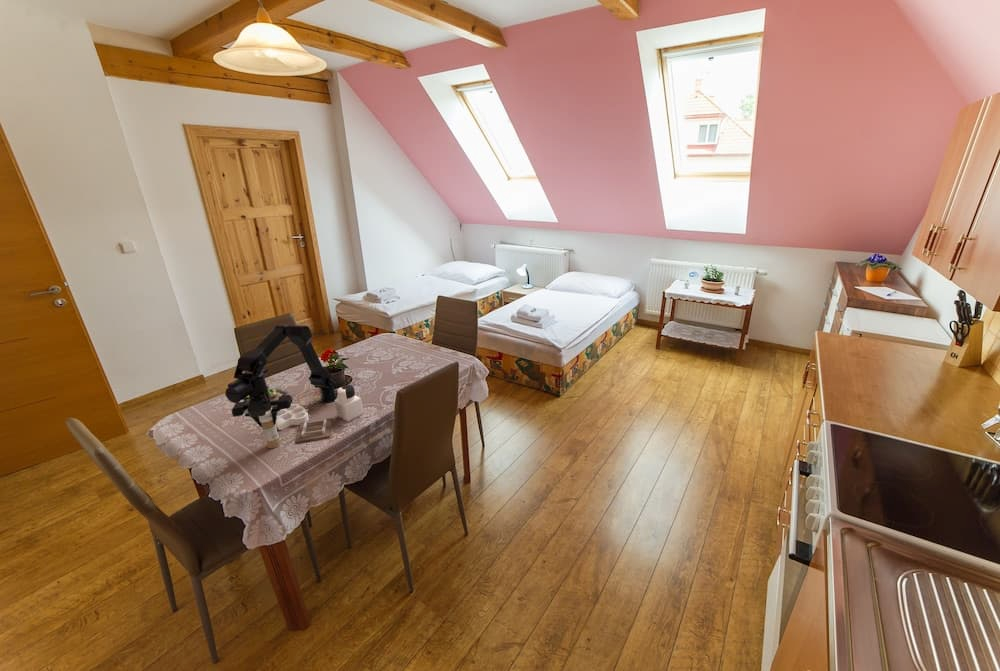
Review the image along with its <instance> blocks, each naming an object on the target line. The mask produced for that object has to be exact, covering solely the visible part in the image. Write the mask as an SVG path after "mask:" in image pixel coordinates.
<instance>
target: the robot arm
mask: <svg viewBox="0 0 1000 671" xmlns="http://www.w3.org/2000/svg"><path fill="white" fill-rule="evenodd" d="M286 338H288V339H289V341H290V342H291V343H292V344H294V345H295V346H296V347H297V348H298V349H299V350H300V352H301V354H302V357H303V359H304V361H305V362H306V365H307V366H308V368H309V370H310V372H311V373H310V375H309V377H308V380H309V381H310V382H309V383H310V385H312V386H314V388H315V389H316V388H318V389H320V394H321V399H320V403H329V402H335V400H336V399H338V392H336V391H335V390H336V388H337V386H338V385H339V380H338V379H336V378H335V377H333V375H332V373H331V372H330V371H329V370H328V369H326V368H325V367H324V366H323V365H322V363H321V360H320V358H319V357H318V354H317V352H316V350H315V348H314V345H313V343H312V338H313V334H312V332H311V328H310V327H309V326H308V325H299V324H290V325H287V324H277V325H275V327H274V329H273V330H272V331H271V332H270V333H269V334H268V335H266V337H265V338H264V339H263V340H262V341H261V342H260V343H259V344H257V346H256V347H255V348H254V349H250V350H248V351H246V352H245V353H244V354H242V355H241V356H239V358H238V360H237V365H236V368H235V371H234V376H233V379H236V380H234V381H233V382H230V383H228V384H227V388H226V389H225V393H224V394H225V395H224V396H225V397H226V399H227V400H228V401H230V402H231V403H234V405H233V407H232V409H231V415H232V417H235V418H236V417H241V416H243V415H244V417H249V418H251V419H253V420H254V421H255V422H256V423H257V424H258V426H259V427H260V428H262V425H261V422H260V420H259V416H264V415H265V414H266V412H271V413H272V417H273V423H274V425H275V424H276V420H277V413H278V411H280V410H281V409H288V408H290V406H291V404H293V397H292V396H291V395H290V394H284V395H282V396H279V398H278V399H276V400H273V401H272V400H271V396H269V392H268V388H269V386H268V385H267V382H266V378H265V374H266V373H267V372H269V369H267V368H265V366H266V365H267V363H268V358H269V356H270V355H272V353H273V352H274V351H275V350H276V349H277V348H278V346H280V345H281V343H282V342H283V341H284V340H285V339H286ZM245 372H246V373H245ZM247 396H249V399H250V401H249V404H248V402H247V401H243V402H240V401H241V400H242V399H244V398H246V397H247Z"/></svg>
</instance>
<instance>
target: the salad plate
mask: <svg viewBox="0 0 1000 671" xmlns="http://www.w3.org/2000/svg"><path fill="white" fill-rule="evenodd" d="M268 392H269V396H271V401H273V400H276V399H278V398H279V396H284V395H288V394H289V391H286V390H284V389H283V388H282V387H280V386H274V387H268ZM243 401H247V402H248V404H249V401H250V399H249V396H247V397H246V398H244V399H242V400H241V401H239V402H243Z"/></svg>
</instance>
